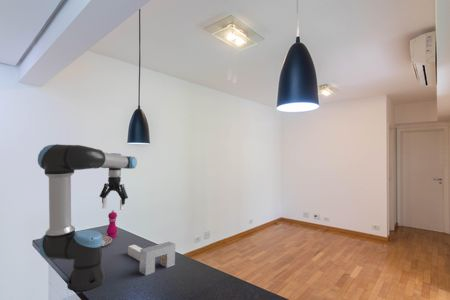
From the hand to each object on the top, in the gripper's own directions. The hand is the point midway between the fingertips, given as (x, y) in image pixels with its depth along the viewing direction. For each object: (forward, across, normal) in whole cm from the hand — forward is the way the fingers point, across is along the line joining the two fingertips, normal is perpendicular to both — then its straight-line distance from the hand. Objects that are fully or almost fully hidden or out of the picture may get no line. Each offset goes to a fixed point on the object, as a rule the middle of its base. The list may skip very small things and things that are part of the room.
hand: (112, 208), depth 162 cm
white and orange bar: (+26, -29, +9) cm, 40 cm away
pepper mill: (+25, +15, -19) cm, 35 cm away
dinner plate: (+26, +17, +1) cm, 31 cm away
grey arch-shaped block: (+26, -44, +17) cm, 54 cm away
